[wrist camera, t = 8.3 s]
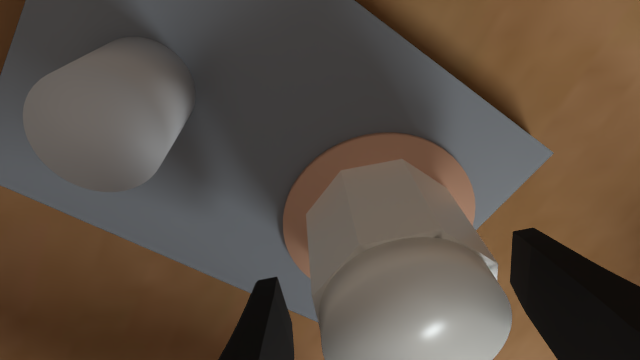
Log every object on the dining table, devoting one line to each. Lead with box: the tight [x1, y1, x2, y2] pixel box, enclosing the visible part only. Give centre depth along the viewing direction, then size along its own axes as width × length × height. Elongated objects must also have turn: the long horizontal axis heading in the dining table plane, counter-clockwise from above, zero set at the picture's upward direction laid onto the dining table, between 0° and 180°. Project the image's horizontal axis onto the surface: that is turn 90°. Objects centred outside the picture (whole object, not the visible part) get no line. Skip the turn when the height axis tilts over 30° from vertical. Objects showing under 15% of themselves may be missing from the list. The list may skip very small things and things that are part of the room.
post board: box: [0, 0, 553, 322], centre depth 13 cm, size 16×11×5 cm
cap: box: [306, 159, 512, 360], centre depth 13 cm, size 5×5×5 cm
